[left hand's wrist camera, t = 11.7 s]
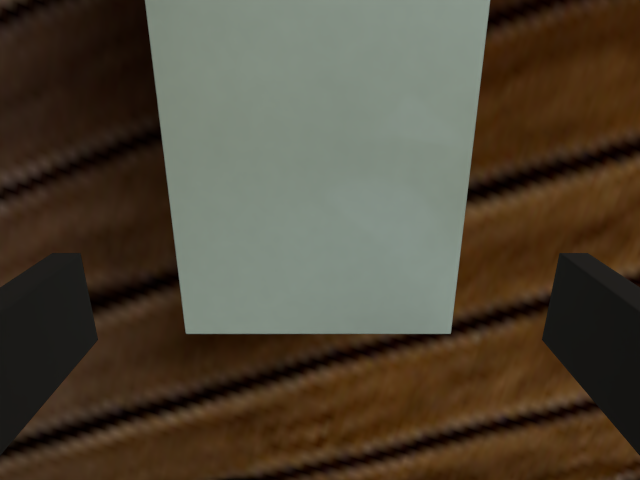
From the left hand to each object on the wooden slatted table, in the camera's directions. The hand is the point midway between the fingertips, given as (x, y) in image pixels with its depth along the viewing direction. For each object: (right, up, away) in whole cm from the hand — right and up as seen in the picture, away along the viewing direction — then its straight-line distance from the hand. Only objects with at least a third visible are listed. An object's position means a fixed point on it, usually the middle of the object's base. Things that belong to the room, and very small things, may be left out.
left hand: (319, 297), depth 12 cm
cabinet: (0, +11, +11) cm, 15 cm away
